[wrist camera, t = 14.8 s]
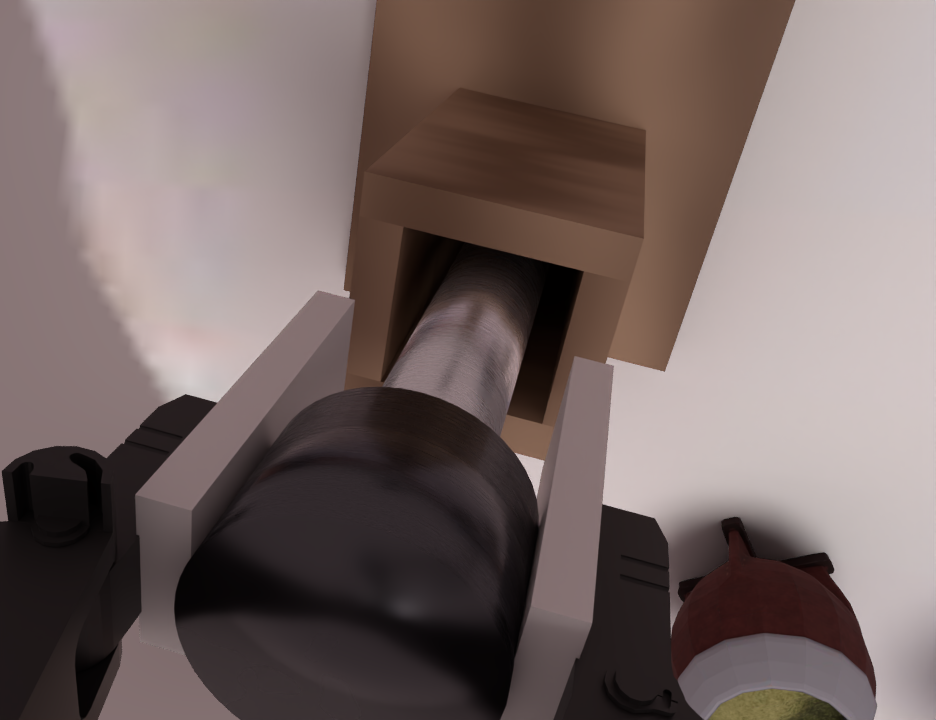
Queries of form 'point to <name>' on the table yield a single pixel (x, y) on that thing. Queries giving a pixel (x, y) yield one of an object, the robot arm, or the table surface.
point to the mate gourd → (770, 640)
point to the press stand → (551, 170)
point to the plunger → (383, 532)
